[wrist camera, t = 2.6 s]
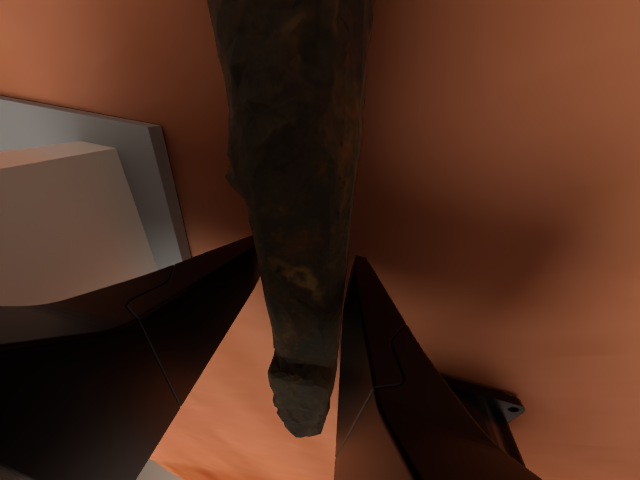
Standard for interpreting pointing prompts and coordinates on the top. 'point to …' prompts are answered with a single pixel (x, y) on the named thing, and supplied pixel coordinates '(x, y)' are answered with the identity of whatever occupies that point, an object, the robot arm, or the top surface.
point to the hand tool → (297, 174)
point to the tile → (67, 224)
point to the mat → (134, 153)
